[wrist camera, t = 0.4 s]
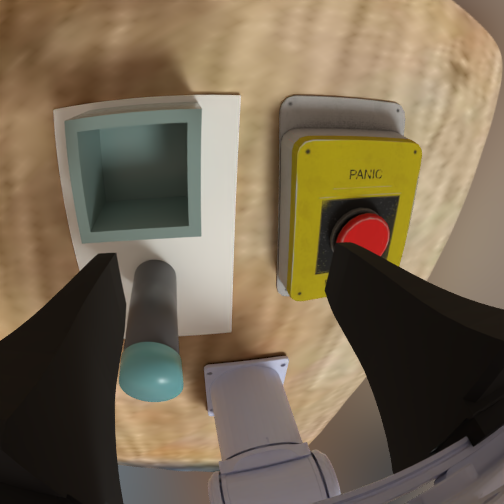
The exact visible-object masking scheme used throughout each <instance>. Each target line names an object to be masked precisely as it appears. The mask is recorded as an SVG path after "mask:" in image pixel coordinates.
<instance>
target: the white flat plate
mask: <svg viewBox="0 0 504 504" xmlns="http://www.w3.org/2000/svg"><path fill="white" fill-rule="evenodd" d="M176 102H198V103H199V105H200V106H201V108H202V124H201V237H182V238H165V239H147V240H131V241H115V242H100V243H85V244H82V241H81V237H80V232H79V227H78V222H77V217H76V211H75V206H74V200H73V194H72V187H71V181H70V173H69V166H68V157H67V148H66V137H65V124H64V121H65V120H68V119H70V118H72V117H75V116H77V115H80V114H82V113H84V112H87V111H89V110H95V109H103V108H111V107H120V106H130V105H142V104H156V103H176ZM240 103H241V95H175V96H156V97H142V98H130V99H120V100H111V101H103V102H96V103H89V104H82V105H76V106H70V107H64V108H59V109H54V110H53V113H54V128H55V139H56V149H57V158H58V166H59V173H60V180H61V186H62V193H63V198H64V204H65V209H66V215H67V220H68V224H69V229H70V234H71V238H72V242H73V247H74V251H75V255H76V259H77V263H78V267H79V270H81V269H82V268H83V267H84V266H85V265H86V264H87V263H88V262H89V261H91V260H92V259H93V258H94V257H95V256H96V255H97V254H98V253H117V259H118V265H119V270H120V275H121V280H122V285H123V290H124V295H125V300H126V320H125V333H124V339H125V336H126V328H127V320H128V313H129V306H130V299H131V292H132V286H133V280H134V274H135V271H136V269H137V267H138V266H139V265H140V264H141V263H143V262H145V261H148V260H161V261H164V262H166V263H168V264H169V265H170V266H172V268H173V269H174V270H175V273H176V281H177V318H178V336H191V335H205V334H217V333H229V332H231V331H232V293H233V261H234V233H235V207H236V183H237V161H238V141H239V121H240Z"/></svg>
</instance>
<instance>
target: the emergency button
mask: <svg viewBox="0 0 504 504" xmlns="http://www.w3.org/2000/svg"><path fill="white" fill-rule="evenodd" d="M404 127H405V112H404V110H403V108H402V107H401V106H400V105H398V104H397V103H393V102H385V101H376V100H367V99H356V98H343V97H327V96H300V95H294V96H291V97H288V98H286V99H285V101H284V102H283V103H282V104H281V108H280V112H279V208H278V253H277V290H278V292H279V293H280V294H281V295H282V296H290V297H291V298H292V299H293V300H295V301H306V300H312V299H318V298H323V297H327V296H326V293H325V291H324V290H325V286H326V282H327V278H328V274H329V269H330V265H331V261H332V256H333V252H334V247H335V243H340V242H352V243H355V244H357V245H359V246H361V247H364V248H366V249H367V250H369V251H371V252H373V253H375V254H377V255H379V256H381V257H382V258H384V259H386V260H388V261H390V262H391V263H393V264H395V265H397V266H399V265H400V261H401V257H402V254H403V250H404V246H405V241H406V237H407V233H408V229H409V224H410V220H411V215H412V210H413V205H414V200H415V195H416V189H417V184H418V178H419V172H420V165H421V159H422V150H421V148H420V146H419V145H418V144H417V143H415V142H414V141H412V140H410V139H408V138H406V137H404Z"/></svg>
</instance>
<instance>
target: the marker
mask: <svg viewBox="0 0 504 504" xmlns="http://www.w3.org/2000/svg"><path fill="white" fill-rule="evenodd" d="M119 384H120V387H121V388H122V390H123V391H124V392H125V393H126V394H128V395H129V396H131V397H133V398H136V399H138V400H142V401H148V402H161V401H167V400H170V399H173V398H175V397H176V396H178V395H179V394H180V393H181V392H182V390H183V374H182V361H181V357H180V355H179V341H178V318H177V281H176V273H175V270H174V269H173V268H172V266H170V265H169V264H168V263H166V262H164V261H161V260H148V261H145V262H143V263H141V264H140V265H139V266H138V267H137V269H136V271H135V274H134V280H133V286H132V292H131V299H130V306H129V313H128V320H127V328H126V336H125V345H124V352H123V353H122V356H121V365H120V376H119Z"/></svg>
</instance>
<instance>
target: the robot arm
mask: <svg viewBox="0 0 504 504" xmlns="http://www.w3.org/2000/svg"><path fill="white" fill-rule="evenodd" d="M324 291H325V293H326V296H327V299H328V302H329V304H330V307H331V309H332V312H333V314H334V316H335V318H336V320H337V321H338V323H339V325H340V327H341V329H342V330H343V332H344V334H345V336H346V338H347V339H348V341H349V343H350V345H351V346H352V348H353V350H354V352H355V354H356V355H357V357H358V359H359V361H360V363H361V365H362V367H363V369H364V371H365V373H366V376H367V379H368V381H369V384H370V386H371V389H372V391H373V394H374V397H375V400H376V403H377V406H378V409H379V412H380V415H381V419H382V422H383V426H384V430H385V434H386V437H387V442H388V447H389V452H390V457H391V463H392V470H393V473H394V474H393V475H391V476H389V477H386V478H384V479H382V480H379V481H377V482H374V483H372V484H369V485H366V486H363V487H361V488H358V489H355V490H352V491H350V492H347V493H344V494H341V492H340V487H339V484H338V480H337V477H336V474H335V471H334V469H333V467H332V464H331V462H330V460H329V459H328V457H327V456H326V455H325V454H324V453H321V452H320V451H318V450H312V451H310V449H309V447H308V444H307V442H305V443H303V442H302V440H301V437H300V434H299V431H298V428H297V425H296V422H295V419H294V416H293V413H292V411H291V408H290V405H289V402H288V399H287V396H286V393H285V390H284V387H283V383H284V379H285V375H286V371H287V367H288V362H289V359H288V357H287V356H279V357H272V358H264V359H256V360H248V361H239V362H230V363H220V364H209V365H206V366H205V367H204V375H205V386H206V397H207V407H208V415H209V416H214V418H215V424H216V430H217V436H218V441H219V447H220V452H221V458H222V461H219V467H220V471H218V472H213V474H212V476H211V477H210V479H209V481H208V493H209V499H210V504H386V503H389V502H391V501H393V500H395V499H398V498H400V497H402V496H404V495H406V494H407V493H410V492H412V491H414V490H416V489H418V488H420V487H422V486H423V485H425V484H427V483H429V482H431V481H433V480H434V479H436V480H435V482H434V486H433V487H431V488H430V489H428V490H426V491H425V492H423V493H421V494H419V495H418V496H416V497H415V498H413V499H412V500H410V501H408V502H407V503H405V504H504V310H503V309H499V308H495V307H491V306H488V305H485V304H481V303H478V302H475V301H472V300H469V299H467V298H464V297H461V296H459V295H456V294H454V293H451V292H449V291H447V290H444V289H442V288H440V287H437V286H435V285H433V284H431V283H429V282H427V281H425V280H423V279H421V278H419V277H417V276H415V275H413V274H411V273H410V272H408V271H406V270H404V269H402V268H400V267H399V266H397V265H395V264H393V263H391V262H390V261H388V260H386V259H384V258H382V257H381V256H379V255H377V254H375V253H373V252H371V251H369V250H367V249H366V248H364V247H361V246H359V245H357V244H355V243H352V242H340V243H335V247H334V252H333V256H332V261H331V265H330V269H329V274H328V278H327V282H326V286H325V290H324ZM125 320H126V300H125V295H124V290H123V285H122V280H121V275H120V270H119V265H118V259H117V253H98V254H97V255H96V256H95V257H94V258H93V259H92V260H91V261H89V262H88V263H87V264H86V265H85V266H84V267H83V268H82V269H81V270H80V272H79V273H78V274H77V275H76V276H75V277H74V278H73V279H72V280H71V281H70V282H69V283H68V284H67V285H66V286H65V287H64V288H63V289H62V290H60V291H59V292H58V293H57V294H56V295H55V296H54V297H53V298H52V299H51V300H50V301H49V302H48V303H47V304H46V305H45V306H44V307H43V308H41V309H40V310H39V311H38V312H37V313H36V314H35V315H33V316H32V317H31V318H30V319H29V320H27V321H26V322H25V323H24V324H22V325H21V326H20V327H19V328H17V329H16V330H15V331H13V332H12V333H11V334H9V335H8V336H6V337H5V338H4V339H2V340H1V341H0V504H123V499H122V493H121V487H120V481H119V473H118V463H117V453H116V437H115V392H116V383H117V376H118V369H119V363H120V357H121V351H122V345H123V339H124V333H125Z"/></svg>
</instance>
